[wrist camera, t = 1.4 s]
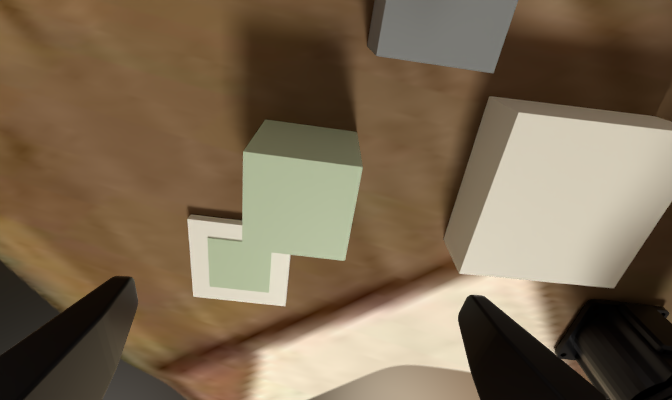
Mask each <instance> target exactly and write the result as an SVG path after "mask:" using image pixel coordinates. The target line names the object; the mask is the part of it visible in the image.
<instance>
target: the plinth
mask: <svg viewBox="0 0 672 400" xmlns="http://www.w3.org/2000/svg"><path fill="white" fill-rule="evenodd" d="M671 202H672V122H671V121H668V120H665V119H662V118H659V117H656V116H649V115H641V114H633V113H625V112H616V111H608V110H600V109H592V108H583V107H575V106H567V105H559V104H551V103H542V102H534V101H526V100H518V99H509V98H501V97H493V96H489V98H488V101H487V105H486V108H485V111H484V114H483V117H482V120H481V123H480V126H479V130H478V133H477V136H476V139H475V142H474V145H473V148H472V151H471V155H470V158H469V161H468V164H467V167H466V170H465V173H464V176H463V180H462V183H461V186H460V189H459V192H458V195H457V198H456V202H455V205H454V208H453V211H452V214H451V217H450V220H449V223H448V227H447V230H446V233H445V236H444V239H443V240H444V242H445V244H446V246H447V248H448V251H449V253H450V255H451V257H452V259H453V261H454V264H455V266H456V268H457V270H458V272H459V274H469V275H480V276H490V277H501V278H511V279H521V280H532V281H542V282H553V283H563V284H574V285H584V286H595V287H605V288H614V287H615V286H616V284H617V283H618V281H619V280H620V278H621V277H622V275H623V274H624V272H625V271H626V269H627V268H628V266H629V265H630V263H631V262H632V260H633V259H634V257H635V256H636V254H637V253H638V251H639V250H640V248H641V247H642V245H643V244H644V242H645V241H646V239H647V238H648V236H649V235H650V233H651V232H652V230H653V229H654V227H655V226H656V224H657V223H658V221H659V220H660V218H661V217H662V215H663V214H664V212H665V211H666V209H667V208H668V206H669V205H670V203H671Z"/></svg>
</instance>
